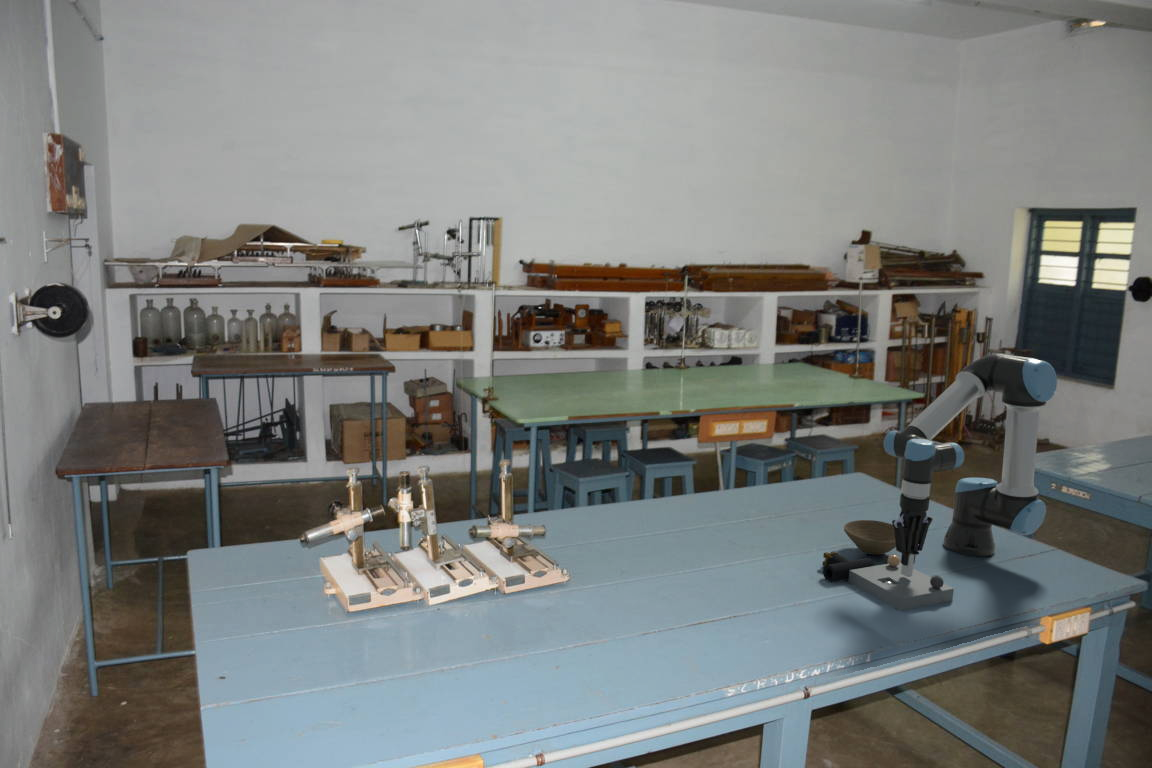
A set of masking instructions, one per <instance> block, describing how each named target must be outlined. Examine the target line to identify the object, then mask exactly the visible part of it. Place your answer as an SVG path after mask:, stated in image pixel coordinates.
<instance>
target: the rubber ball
mask: <svg viewBox="0 0 1152 768" xmlns="http://www.w3.org/2000/svg"><path fill="white" fill-rule="evenodd" d="M943 583H944V579H943V578H942V577H941V576H939V575H934V576H931V580H930V584H931V586H932V587H934V588H937V589H938V588H941V587H942V586H943ZM944 584H945V583H944Z"/></svg>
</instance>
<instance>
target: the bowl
mask: <svg viewBox="0 0 1152 768" xmlns="http://www.w3.org/2000/svg"><path fill="white" fill-rule="evenodd" d="M843 531H844V533H845V534H846V536H847V537H848V538H849V539H850V540H851V541H852V543H854V545H855V546H856V547H857V548H858V549H859V550H860V551H862V552H863V553H865V554H868V555H873V556H879V555H884V554H887V553H889V552H891V551H892V550H894V549H896V542H895V531H894V526H893V524H892V523H889V522H884V521H880V520H871V519H870V520H869V519H865V520H864V519H862V520H859V519H858V520H852V521H850V522H847V523H845V524H844V526H843Z"/></svg>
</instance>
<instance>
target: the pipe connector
mask: <svg viewBox="0 0 1152 768" xmlns="http://www.w3.org/2000/svg"><path fill="white" fill-rule="evenodd" d="M823 558H824V560H822V565H821V566H823V569H822V571H823V572H822V574H823V577H824V579H825V580H826V581H828V582H830V583H835V582H842V581H846V580H847V581H848V580H849V570H853V569H859V568H865V567H871V566H876V564H875V563H874V561H873V559H871V558H870V557H869V558H861V559H854V560H849V559H848V558H846V557H844V556H842V554H840V553H838V552H836V551H830V553H829V552H828V551H826V552H823Z"/></svg>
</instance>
